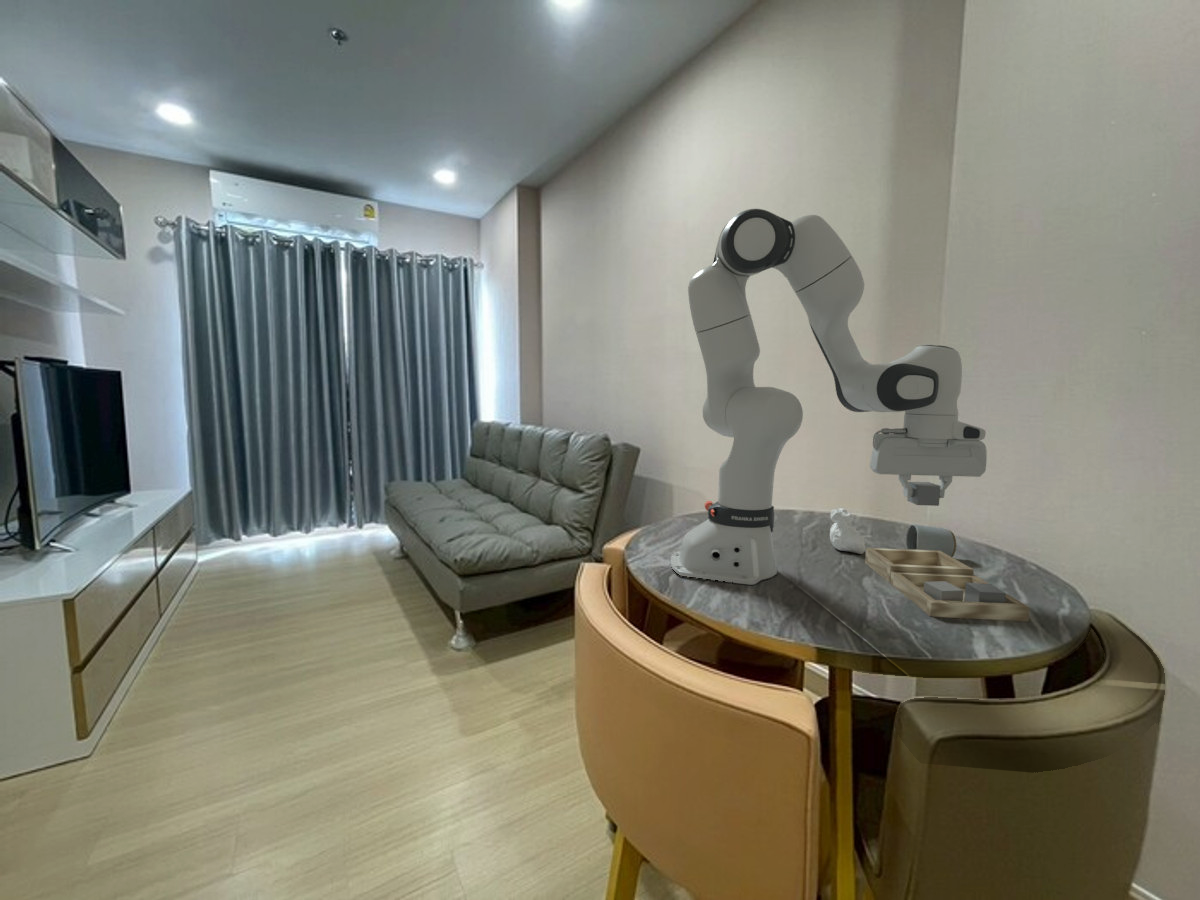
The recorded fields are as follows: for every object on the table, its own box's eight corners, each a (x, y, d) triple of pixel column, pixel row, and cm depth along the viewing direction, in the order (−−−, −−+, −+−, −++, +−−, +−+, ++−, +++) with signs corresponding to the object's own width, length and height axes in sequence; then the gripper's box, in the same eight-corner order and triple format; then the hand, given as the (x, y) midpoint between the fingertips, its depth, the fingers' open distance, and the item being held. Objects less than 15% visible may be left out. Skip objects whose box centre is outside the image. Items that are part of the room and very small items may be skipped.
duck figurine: (831, 550, 124) (806, 516, 123) (855, 532, 124) (830, 498, 123) (856, 567, 113) (829, 529, 111) (883, 547, 112) (856, 510, 111)
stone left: (939, 613, 83) (941, 591, 83) (922, 603, 87) (924, 581, 86) (961, 612, 83) (963, 590, 83) (943, 602, 87) (945, 581, 87)
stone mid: (917, 505, 97) (918, 485, 96) (907, 500, 101) (908, 481, 100) (938, 505, 96) (940, 485, 96) (927, 501, 100) (929, 482, 100)
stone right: (977, 614, 83) (979, 591, 82) (963, 603, 87) (965, 582, 86) (1003, 615, 82) (1006, 593, 82) (988, 605, 86) (990, 583, 86)
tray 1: (889, 585, 96) (890, 566, 96) (864, 565, 107) (866, 547, 107) (971, 589, 95) (973, 569, 94) (938, 568, 106) (940, 550, 105)
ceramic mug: (957, 565, 108) (960, 531, 107) (915, 561, 110) (918, 528, 109) (936, 550, 118) (939, 519, 117) (898, 547, 120) (901, 517, 119)
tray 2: (929, 619, 82) (931, 602, 82) (889, 586, 96) (890, 571, 96) (1028, 624, 80) (1030, 607, 80) (972, 589, 94) (974, 575, 94)
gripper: (881, 429, 95) (875, 498, 96) (995, 431, 92) (987, 502, 94) (867, 426, 101) (862, 492, 103) (974, 428, 99) (967, 495, 100)
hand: (923, 497), depth 98 cm, fingers closed on stone mid, 4 cm apart
